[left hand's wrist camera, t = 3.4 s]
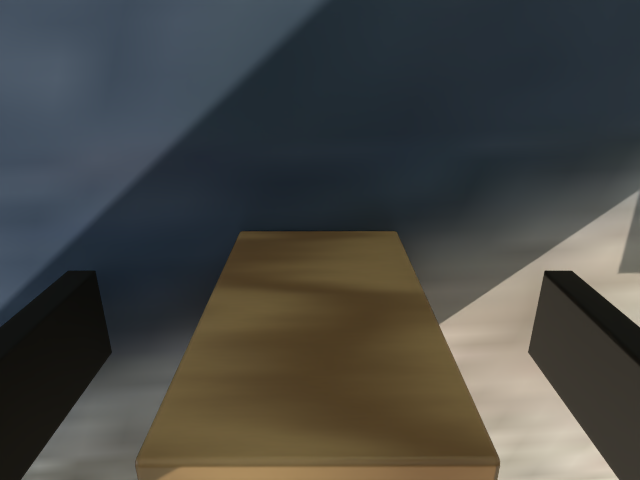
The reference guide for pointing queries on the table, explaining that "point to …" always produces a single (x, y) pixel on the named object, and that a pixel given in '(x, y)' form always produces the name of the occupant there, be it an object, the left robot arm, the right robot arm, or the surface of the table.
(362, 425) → the beech block
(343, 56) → the table surface
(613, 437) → the left robot arm
